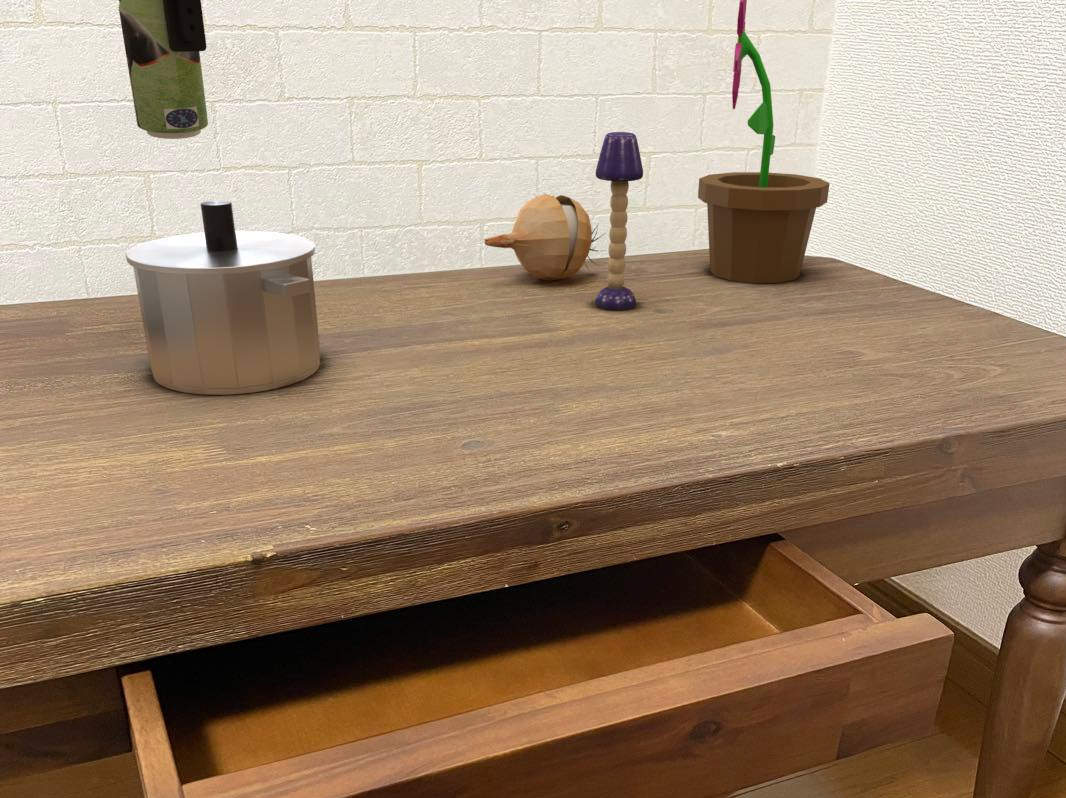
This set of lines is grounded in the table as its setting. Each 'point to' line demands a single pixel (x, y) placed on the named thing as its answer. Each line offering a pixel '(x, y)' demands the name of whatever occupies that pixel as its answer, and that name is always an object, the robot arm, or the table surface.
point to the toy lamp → (618, 212)
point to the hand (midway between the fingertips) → (166, 48)
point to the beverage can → (161, 74)
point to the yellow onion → (549, 237)
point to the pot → (230, 329)
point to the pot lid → (220, 248)
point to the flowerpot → (759, 200)
